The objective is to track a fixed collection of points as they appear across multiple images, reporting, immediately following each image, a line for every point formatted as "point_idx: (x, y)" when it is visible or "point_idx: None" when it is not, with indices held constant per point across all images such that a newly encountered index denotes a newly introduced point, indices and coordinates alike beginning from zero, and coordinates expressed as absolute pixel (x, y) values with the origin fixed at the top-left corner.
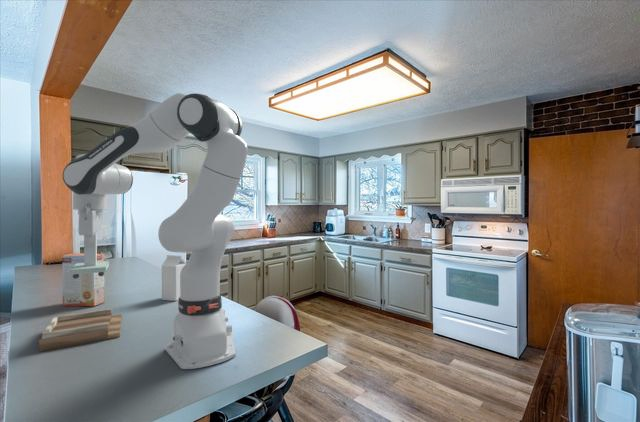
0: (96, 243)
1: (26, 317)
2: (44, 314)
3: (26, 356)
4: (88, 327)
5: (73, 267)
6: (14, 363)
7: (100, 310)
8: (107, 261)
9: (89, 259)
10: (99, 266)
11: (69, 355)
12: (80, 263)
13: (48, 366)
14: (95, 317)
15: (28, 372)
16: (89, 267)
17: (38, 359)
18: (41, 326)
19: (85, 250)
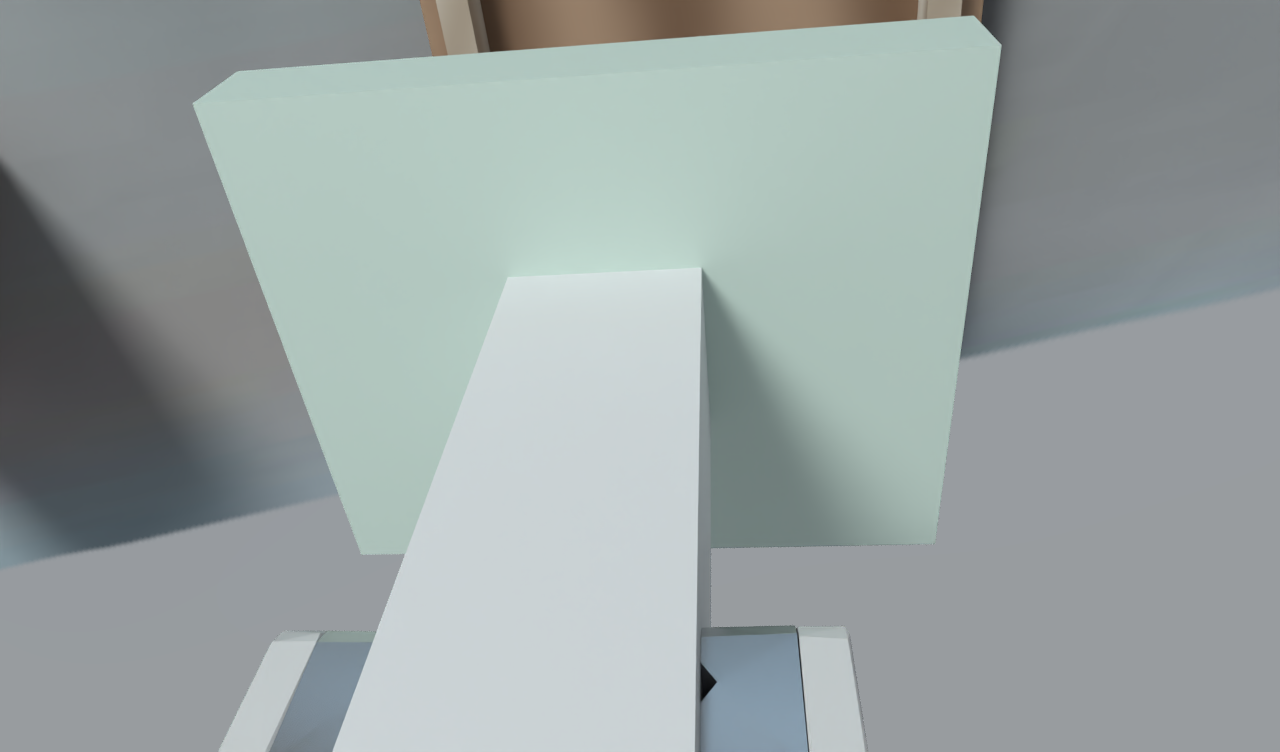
0: (481, 641)
1: (196, 486)
2: (146, 414)
3: (971, 308)
4: (959, 12)
5: (738, 533)
6: (1048, 335)
7: (450, 1)
8: (236, 127)
9: (706, 439)
10: (842, 186)
11: (1153, 61)
12: (386, 507)
13: (1262, 148)
14: (538, 22)
15: (1268, 232)
16: (868, 334)
17: (1078, 234)
18: None
19: None
